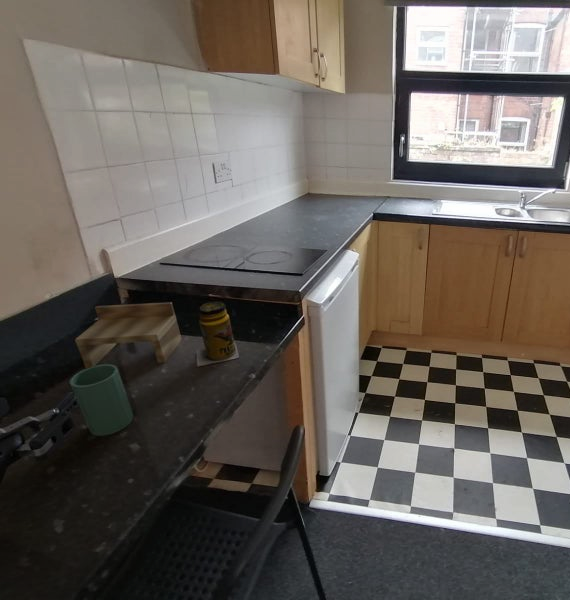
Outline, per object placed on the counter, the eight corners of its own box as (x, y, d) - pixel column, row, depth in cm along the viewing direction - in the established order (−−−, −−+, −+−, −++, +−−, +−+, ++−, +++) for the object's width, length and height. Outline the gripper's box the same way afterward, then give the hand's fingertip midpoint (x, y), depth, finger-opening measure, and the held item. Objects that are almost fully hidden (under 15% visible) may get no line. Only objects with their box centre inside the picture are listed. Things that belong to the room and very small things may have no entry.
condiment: (239, 358, 89) (229, 309, 84) (197, 367, 86) (184, 317, 81) (235, 343, 95) (226, 296, 90) (196, 351, 92) (184, 303, 87)
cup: (80, 431, 68) (59, 382, 64) (115, 407, 74) (98, 361, 70) (108, 439, 66) (89, 390, 62) (142, 414, 72) (126, 367, 68)
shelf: (85, 368, 86) (69, 326, 81) (110, 344, 95) (97, 305, 90) (165, 362, 87) (153, 321, 83) (181, 339, 96) (172, 302, 92)
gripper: (-11, 467, 39) (86, 372, 54) (-181, 483, 37) (-32, 381, 52) (19, 521, 42) (104, 417, 57) (-137, 538, 40) (-8, 427, 55)
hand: (38, 400), depth 54 cm, fingers open, 8 cm apart
